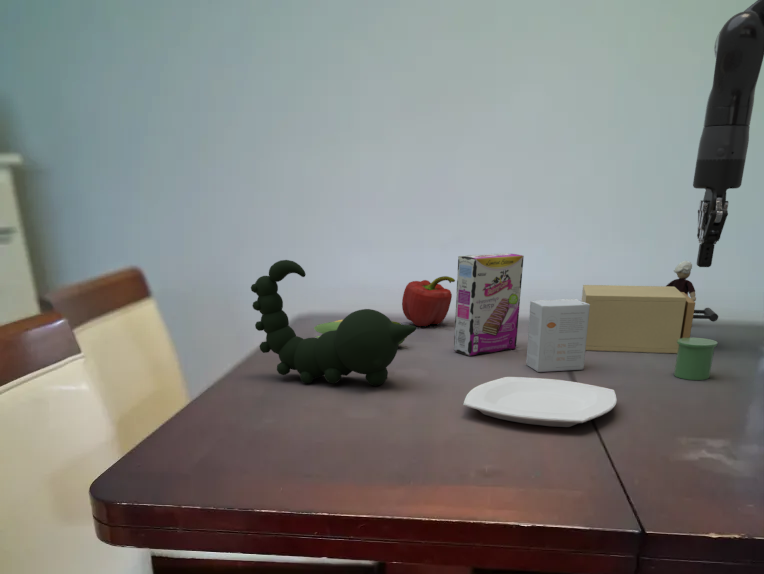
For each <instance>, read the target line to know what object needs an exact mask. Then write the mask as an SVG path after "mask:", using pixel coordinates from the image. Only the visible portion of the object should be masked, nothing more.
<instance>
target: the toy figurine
mask: <svg viewBox="0 0 764 574" xmlns="http://www.w3.org/2000/svg"><path fill="white" fill-rule="evenodd" d="M290 274H297V275H299V276H300V277H301V278H305V277H306V270H305V269H304V267H302V266H301V265H300V264H299V263H297V262H295V261H294V260H289V259H282V260H278V261H276V262H274V263H273V264H272V265H271V266H270V267H269V270H268V275H262V276H260V277H258V278H257V279H256V281H255V282H254V283H253V284H251V286H250V290H251V292H252V293H254V294H256V295H257V298H256V299H257V300H255V301H253V302H252V305H251V306H252V308H253V310H254V311H257V312H259V313H260V314H261V317H260V321H259V320H258V321H256V323H255V324H254V325H255V326H254V327H255V329H256V330H257V331H259V332H261V331H264V333H265V334H266V336H265V341H261V343H260V344H259V351H261V352H262V353H263V354H266V353H267V354H268V353H270V351H272V352H273V353H274V354H277V355H278V358H279V360H280V362H279V363H278V364H277V365H276V371H277V373H278V374H279V375H280V376H281V375H282V376H287V375H288V374H289V373H291V370H293V371H296V372H298V374H299V378H300V381H301V382H302V383H304V384H305V383H308V384H311V383H312V382H313V381H314V379H318V378H321V377H324V379H325V380H326V382H328V384H329V383H330V384H336V383H338V382H340V380H341V379H342V376H345V377H347V376H348V375H350V374H351V373H353V372H354V373H356V374H359V375H360V374H361V375H365V380H366V382H367V383H368V384H369V385H371V386H374V387H375V386H376V387H377V385H378V386H380V385H383V384H384V383H385V382H386V380H387V379H388V375H389V370H388V368H387V367H389V366H390V365H391V364H392V362H393V361H394V360H395V357H396V355H397V353H398V350H399V345H400V344H399V342H400V341H402V340H403V339H404V338H405V339H407V338H406V337H409V336H410V335H412V334H413V333H414V332H415V331H416V330H417V326H416V325H411V324H402V323H400V324H394V323H393V322H392V321H393V320H392V319H390V317H388V316H387V315H386V314H384V313H382V312H380V311H379V310H376V309H372V308H364V309H363V308H362V309H358V310H355V311H352V312H351V313H349V314H348V315H346V316H345V317H344V318H343V319H341V320H342V321H341V323H340V324H339V326H338V328H337V330H335V331H328V332H325V333H324V334H322V333H321V335H319V336H320V337H319V338H317V337H306V338H303V337H300V336H298V335H297V334H296V332H295V330H294V329H293V328H292V326H290V325H289V324H290V321H289V320H290V319H289V316H288V314H287V313H286V312H285V311H284V310H283V309H284V308H283V307H284V300H283V298H282V296H281V295H280V294H279V285H278V282H281V281H283V280H284V279H285V278H286V277H287V276H288V275H290ZM398 344H399V345H398Z"/></svg>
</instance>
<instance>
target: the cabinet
mask: <svg viewBox="0 0 764 574" xmlns="http://www.w3.org/2000/svg"><path fill="white" fill-rule="evenodd" d="M581 301H583V302H585V303H588V304H590V308H589V319H588V328H587V339H586V349H585V351H593V352H595V351H596V352H598V351H600V352H620V353H621V352H623V353H651V354H652V353H653V354H677V351H678V345H679V344H677V340H678V339H680V335H681V329H682V323H683V316H684V310H685V303H686V297H685V296H684V295H683V294H682V293H681V292H680V291H679V290H678V289H677V288H675V287H670V286H666V285H663V286H662V285H661V286H660V285H616V284H615V285H612V284H611V285H609V284H607V285H606V284H582V293H581Z"/></svg>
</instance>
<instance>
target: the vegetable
mask: <svg viewBox="0 0 764 574" xmlns="http://www.w3.org/2000/svg"><path fill="white" fill-rule="evenodd" d="M444 281H448V282H449V284H452V283H455V282H456V280H455V278H454V277H451V276H447V275H444V276H439V277H437V278H435V279H434V280H433V281H429V280H427V279H423V280H420V281H419V280H412V281H410V282H408V283H407V284H406V286H405V288H404V291H403V293H402V298H401V299H402V301H401V307H402V308H401V309H402V312H403V315H404V316H405V318H406V320H408V321H410V322H411V323H412V324H413V325H414V326H416V327H421V326H427V327H429V326H431V325H430V324H438V325H439V324H441V323H443V321H444V320H445V318H446V317H447V315H448V313H449V309H450V306H451V302H452V297H453V294H452V291H451V290H450V289H449V288H444V287H443V285H442V284H440V283H441V282H444ZM428 325H429V326H428Z"/></svg>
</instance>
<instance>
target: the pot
mask: <svg viewBox="0 0 764 574" xmlns="http://www.w3.org/2000/svg"><path fill="white" fill-rule="evenodd" d="M718 343H719V342H718V341H716V340H714V339H709V338H705V337H704V338H703V337H690V338H680V339H678V340H677V344H679V345H678V351H677V353H676V358H675V365H674V372H673V376H674V377H676V378H679V379H681V380H688V381H704V380H708V379H710V376H711V371H712V365H713V360H714V355H715V349H716V347H717V346H718Z"/></svg>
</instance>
